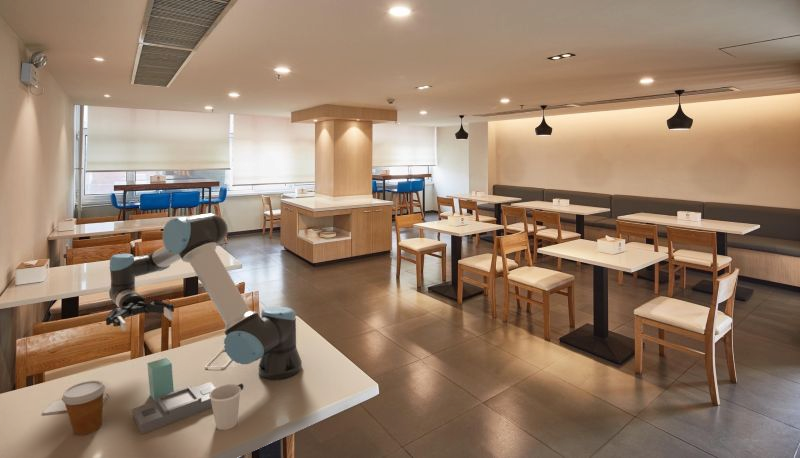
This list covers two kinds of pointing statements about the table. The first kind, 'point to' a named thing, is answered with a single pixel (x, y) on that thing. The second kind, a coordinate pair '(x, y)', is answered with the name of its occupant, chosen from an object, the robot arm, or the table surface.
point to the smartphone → (61, 406)
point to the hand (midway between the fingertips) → (148, 321)
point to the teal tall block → (160, 378)
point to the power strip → (173, 407)
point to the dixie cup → (225, 405)
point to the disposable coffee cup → (84, 406)
